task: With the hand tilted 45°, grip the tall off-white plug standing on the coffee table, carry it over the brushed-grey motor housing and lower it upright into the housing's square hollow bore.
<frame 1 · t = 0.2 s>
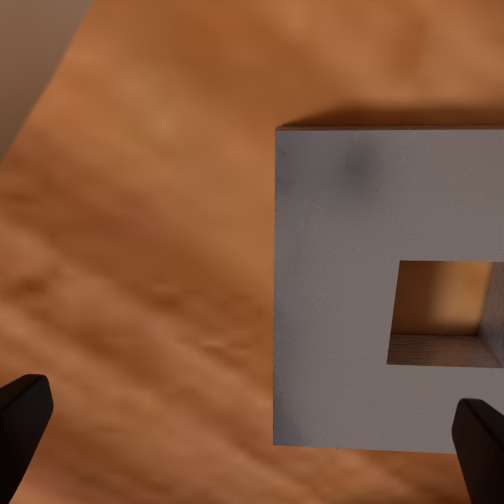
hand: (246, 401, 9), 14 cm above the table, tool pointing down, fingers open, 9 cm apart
housing: (433, 290, 23), on the table
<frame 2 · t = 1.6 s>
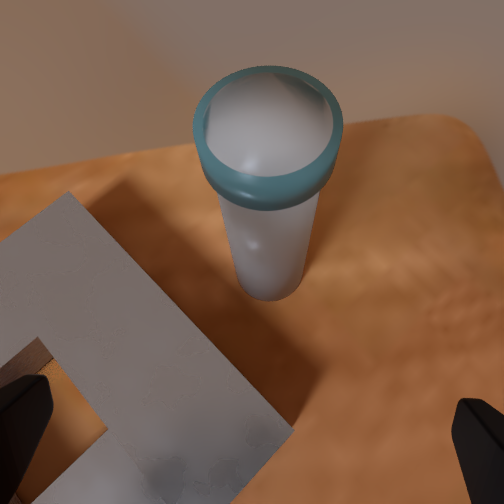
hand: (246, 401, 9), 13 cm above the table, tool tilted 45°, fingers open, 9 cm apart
housing: (50, 427, 21), on the table
plug: (269, 269, 24), on the table
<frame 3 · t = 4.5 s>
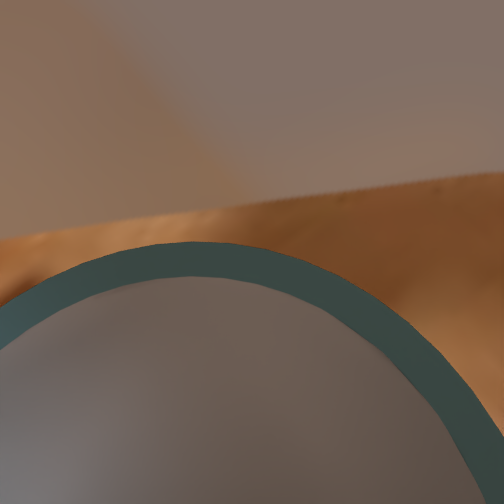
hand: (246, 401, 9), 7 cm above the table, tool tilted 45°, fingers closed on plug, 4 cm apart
plug: (254, 452, 14), on the table, touching gripper
when the fingers open (8 cm above the table, at t = 8.5 s): plug drops 1 cm, resting in housing.
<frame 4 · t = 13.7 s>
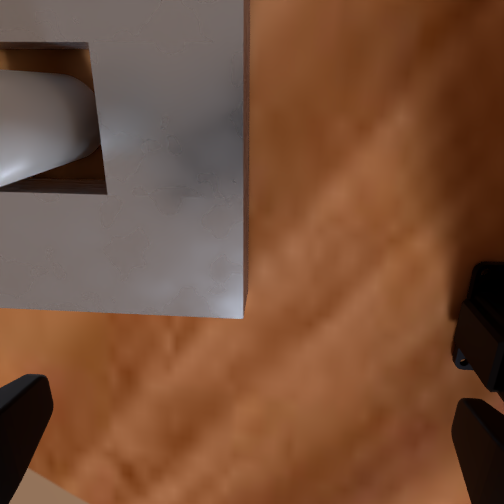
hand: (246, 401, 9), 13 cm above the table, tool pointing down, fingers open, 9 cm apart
housing: (64, 117, 20), on the table
plug: (64, 118, 20), resting in housing
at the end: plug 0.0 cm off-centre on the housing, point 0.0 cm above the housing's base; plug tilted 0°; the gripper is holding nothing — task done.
